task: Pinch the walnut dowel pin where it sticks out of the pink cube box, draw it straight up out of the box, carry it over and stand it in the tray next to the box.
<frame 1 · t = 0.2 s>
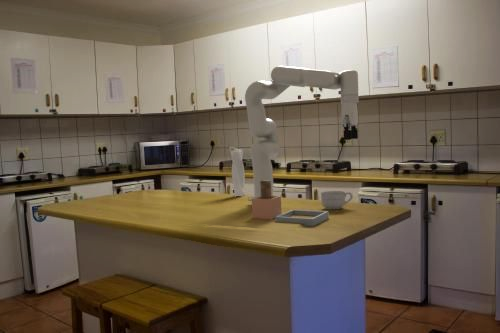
hand: (350, 139, 206), 31 cm above the table, fingers open, 9 cm apart
dowel pin: (267, 216, 197), point 1 cm above the table, touching pink cube box
pink cube box: (267, 218, 197), on the table
teacup: (336, 209, 212), on the table
tray: (302, 220, 189), on the table
skyscraper: (238, 196, 268), on the table
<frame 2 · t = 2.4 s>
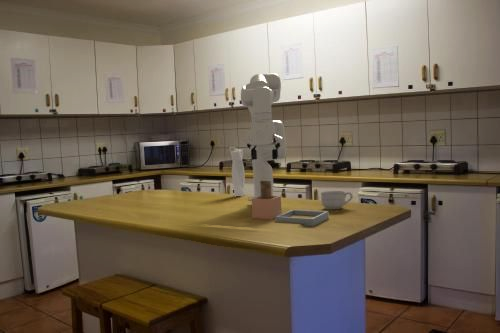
hand: (264, 159, 195), 25 cm above the table, fingers open, 9 cm apart
nothing on the table moved.
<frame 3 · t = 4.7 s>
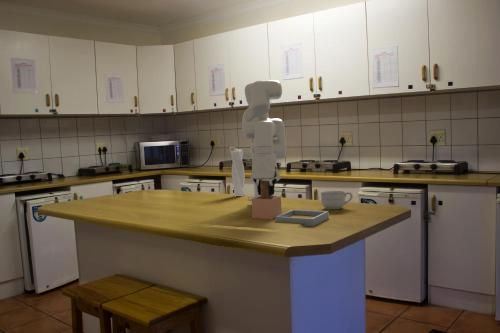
hand: (266, 194, 197), 10 cm above the table, fingers closed on dowel pin, 4 cm apart
dowel pin: (267, 216, 197), point 1 cm above the table, touching pink cube box, gripper
everything else where it was.
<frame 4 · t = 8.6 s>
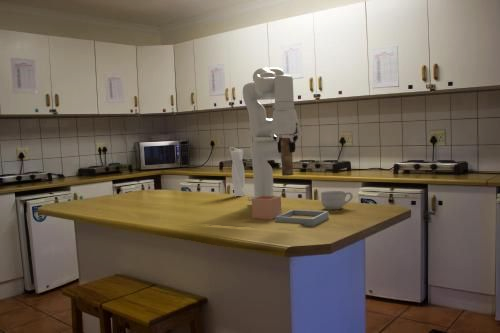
hand: (286, 151, 190), 28 cm above the table, fingers closed on dowel pin, 4 cm apart
dowel pin: (287, 175, 190), point 18 cm above the table, touching gripper
everything else where it was.
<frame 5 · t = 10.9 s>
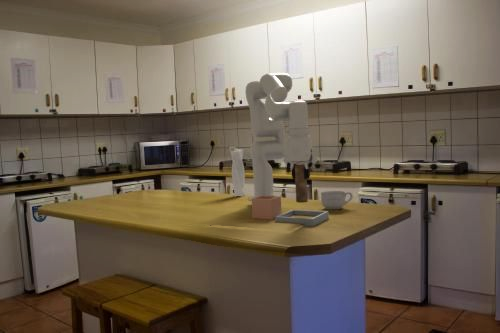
hand: (300, 178, 188), 17 cm above the table, fingers closed on dowel pin, 4 cm apart
dowel pin: (301, 201, 188), point 8 cm above the table, touching gripper
everything else where it was.
when the fingers open (12 cm above the table, at t = 12.7 s): dowel pin drops 2 cm, resting on tray.
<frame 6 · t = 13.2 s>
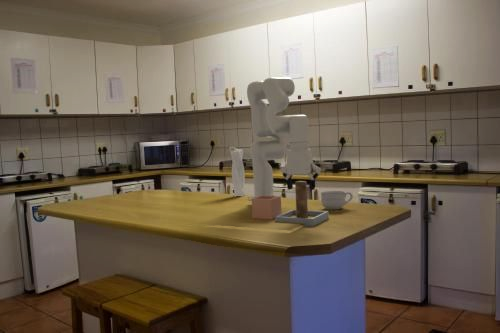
hand: (301, 189, 188), 13 cm above the table, fingers open, 9 cm apart
dowel pin: (302, 218, 189), point 1 cm above the table, touching tray
everything else where it was.
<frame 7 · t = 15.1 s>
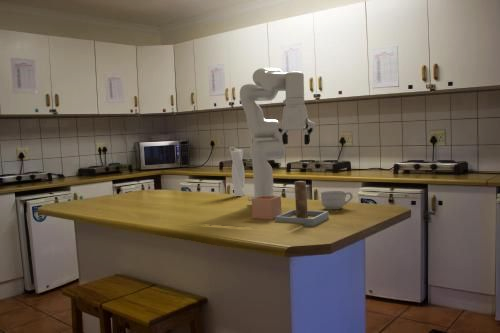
hand: (296, 144, 195), 30 cm above the table, fingers open, 9 cm apart
nothing on the table moved.
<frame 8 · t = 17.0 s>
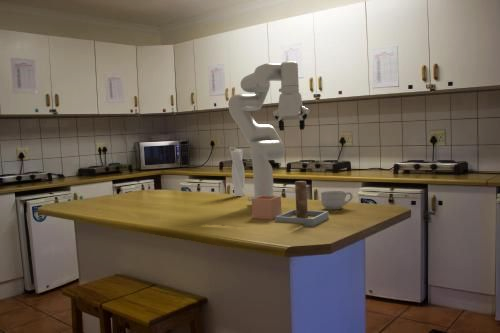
hand: (291, 130, 207), 36 cm above the table, fingers open, 9 cm apart
nothing on the table moved.
at the end: dowel pin inside the target area on the tray (0.1 cm from its centre), point 0.8 cm above the tray's base; the gripper is holding nothing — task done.
